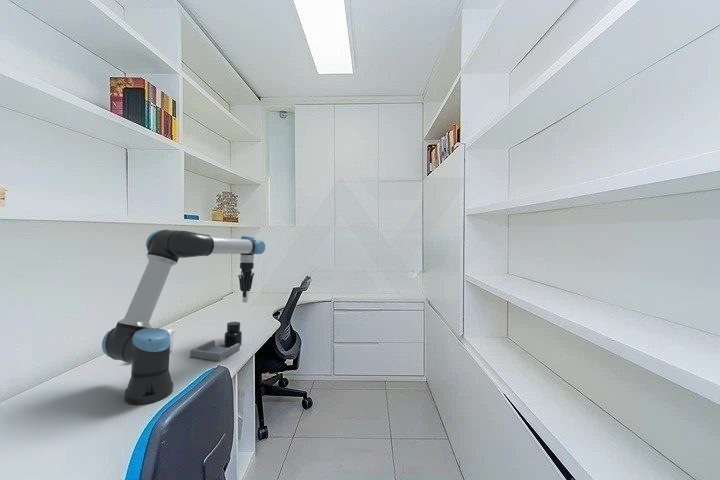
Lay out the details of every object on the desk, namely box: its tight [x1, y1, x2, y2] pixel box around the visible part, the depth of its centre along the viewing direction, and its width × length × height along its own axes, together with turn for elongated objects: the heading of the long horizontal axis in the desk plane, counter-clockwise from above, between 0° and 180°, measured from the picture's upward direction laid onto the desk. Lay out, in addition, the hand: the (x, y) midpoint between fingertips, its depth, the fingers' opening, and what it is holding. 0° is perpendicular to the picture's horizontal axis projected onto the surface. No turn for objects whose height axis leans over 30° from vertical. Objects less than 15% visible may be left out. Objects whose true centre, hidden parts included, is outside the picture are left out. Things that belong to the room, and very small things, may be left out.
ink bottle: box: [223, 321, 243, 348], centre depth 171 cm, size 10×9×12 cm
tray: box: [189, 339, 241, 363], centre depth 157 cm, size 16×16×4 cm
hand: (245, 302), depth 181 cm, fingers closed
